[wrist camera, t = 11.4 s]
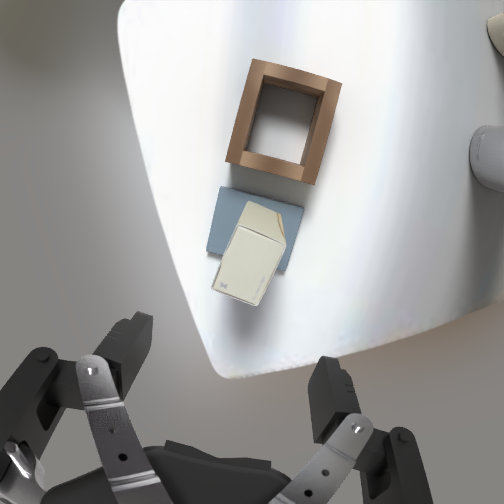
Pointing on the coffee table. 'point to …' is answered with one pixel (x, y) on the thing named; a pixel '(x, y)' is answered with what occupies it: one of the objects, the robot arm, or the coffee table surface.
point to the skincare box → (251, 255)
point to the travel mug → (497, 31)
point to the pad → (231, 210)
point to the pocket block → (319, 126)
